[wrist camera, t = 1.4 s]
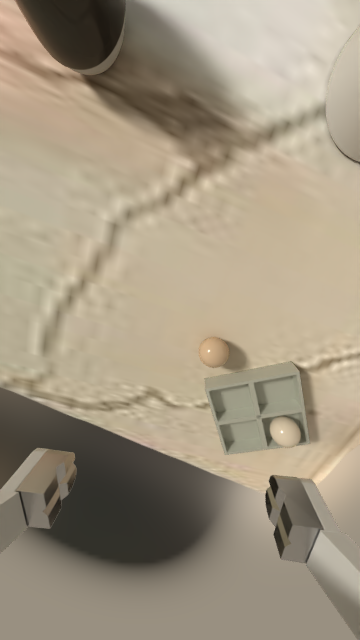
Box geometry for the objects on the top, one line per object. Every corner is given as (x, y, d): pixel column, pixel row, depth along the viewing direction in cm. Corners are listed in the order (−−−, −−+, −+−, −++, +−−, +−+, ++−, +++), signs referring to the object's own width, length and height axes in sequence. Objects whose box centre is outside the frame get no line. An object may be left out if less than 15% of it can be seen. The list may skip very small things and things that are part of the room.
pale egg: (291, 407, 36) (304, 430, 32) (295, 428, 38) (308, 452, 33) (263, 412, 37) (272, 434, 33) (268, 432, 39) (277, 456, 34)
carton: (291, 361, 35) (299, 371, 32) (301, 429, 39) (310, 443, 36) (204, 378, 37) (204, 389, 34) (223, 441, 41) (225, 455, 38)
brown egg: (223, 329, 34) (227, 341, 29) (229, 355, 35) (234, 370, 31) (195, 336, 35) (194, 349, 30) (202, 360, 36) (203, 376, 31)
